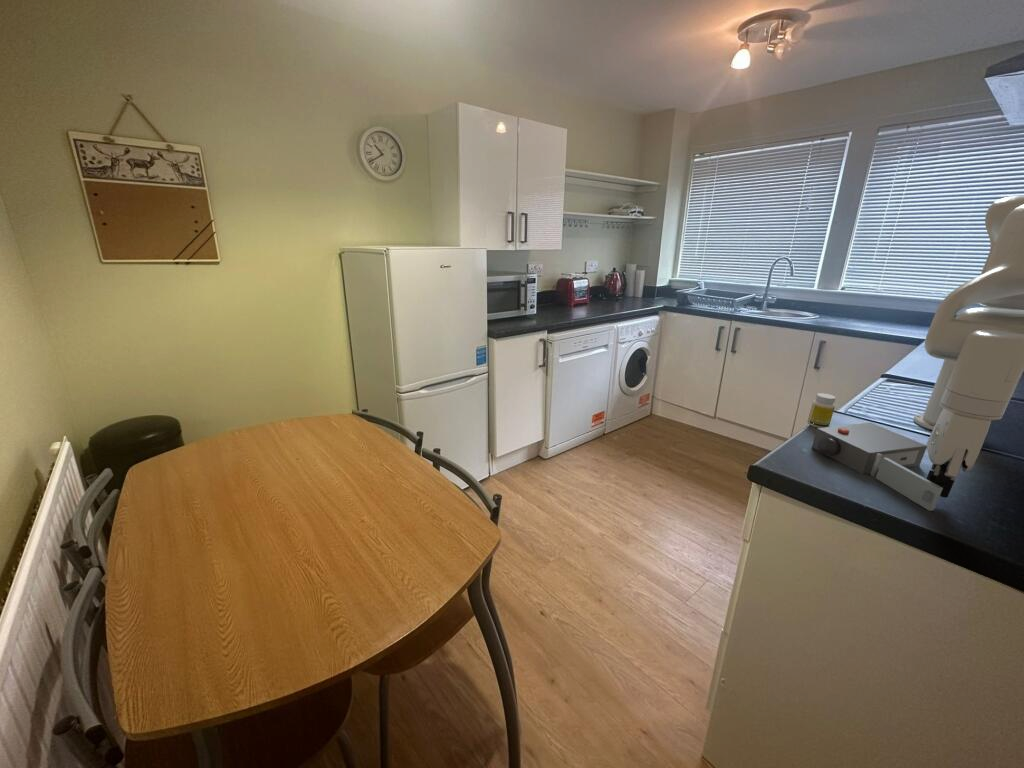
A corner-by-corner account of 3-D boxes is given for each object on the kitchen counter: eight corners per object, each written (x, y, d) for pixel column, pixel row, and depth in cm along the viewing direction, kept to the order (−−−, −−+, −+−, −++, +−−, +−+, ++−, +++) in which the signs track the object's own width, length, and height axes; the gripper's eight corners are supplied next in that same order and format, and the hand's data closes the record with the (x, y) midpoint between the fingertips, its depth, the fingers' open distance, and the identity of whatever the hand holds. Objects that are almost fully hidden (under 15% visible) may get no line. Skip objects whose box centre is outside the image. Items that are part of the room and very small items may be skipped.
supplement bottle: (832, 429, 108) (841, 399, 105) (812, 428, 109) (820, 398, 106) (823, 422, 112) (831, 393, 109) (803, 420, 113) (811, 391, 110)
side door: (933, 510, 76) (943, 488, 74) (925, 510, 76) (934, 488, 74) (879, 478, 86) (887, 457, 84) (872, 478, 86) (879, 457, 84)
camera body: (864, 441, 102) (871, 420, 100) (926, 469, 90) (935, 446, 88) (805, 447, 98) (811, 426, 96) (861, 478, 86) (870, 454, 84)
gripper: (937, 386, 79) (905, 469, 85) (948, 411, 68) (910, 504, 74) (995, 395, 74) (956, 482, 81) (1016, 424, 63) (970, 522, 70)
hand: (934, 492), depth 77 cm, fingers closed
